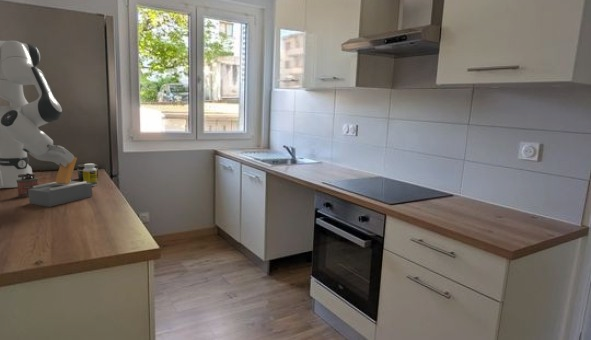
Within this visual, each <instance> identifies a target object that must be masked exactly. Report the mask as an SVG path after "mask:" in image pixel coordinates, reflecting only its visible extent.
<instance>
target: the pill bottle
mask: <svg viewBox="0 0 591 340" xmlns="http://www.w3.org/2000/svg"><path fill="white" fill-rule="evenodd" d="M83 164H84V167H85V168H84V169H83V180H82V182H85V181H86V182H87V183H91V184H92V187H96V186H97V185H98V178H97V170H96V168H94V167H95V164H96V163H91V162H90V163H89V162H88V163H83Z"/></svg>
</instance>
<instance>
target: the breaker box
mask: <svg viewBox="0 0 591 340" xmlns="http://www.w3.org/2000/svg"><path fill="white" fill-rule="evenodd" d="M92 187H93V186H92V184H91V183H87V182H86V181H85V182H83V181H75V180H72V179H70V182H69V185H68V184H61V183H56V182H55V181H53V182H47V183H42V184H38V185H36V186H33V189H28V192H29V196H28V201H29V205H30V204H31V205H36V206H41V207H42V206H43V207H48V208H50V207H55V206H59V205H62V204H67V203H70V202H75V201H79V200H80V201H81V200H84V199H86V198H87V199H88V198H91V197H93V188H92Z"/></svg>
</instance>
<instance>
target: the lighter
mask: <svg viewBox="0 0 591 340" xmlns="http://www.w3.org/2000/svg"><path fill="white" fill-rule="evenodd" d="M35 175H36V174H35V173H32V174H29V173H26V174H19V175H18V177H22V179H18V180H16V181H17V186H18V187H17V192H18V194H17V197H18V198H21V197H22V198H23V197H24V196H26V197H29V192H28V189H33V186H36V185H39V177H35ZM31 176H32V177H31ZM24 177H25V179H24ZM24 198H25V197H24Z"/></svg>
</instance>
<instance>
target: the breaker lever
mask: <svg viewBox="0 0 591 340" xmlns="http://www.w3.org/2000/svg"><path fill="white" fill-rule="evenodd" d="M77 160H78V157H76V156H74V159H73V160H72V161H71V163H67V164H68V165H67V166H66V167H61V166H59V169H58V171H57V174H56V177H55V181H54V182H56V183H61V184H68V185H69V182H70V180H72V179H71V178H72V175H73V172H74V169H75V165H76V163H77Z"/></svg>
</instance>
